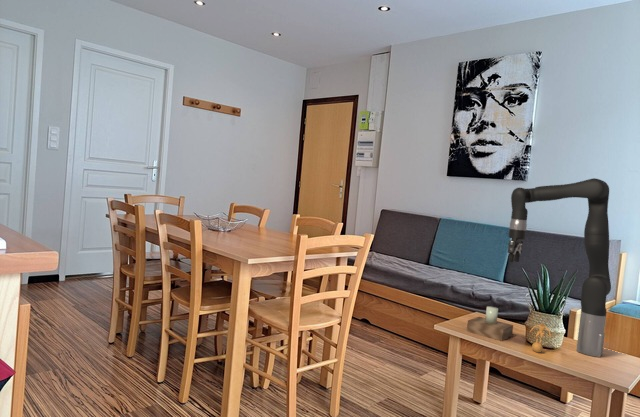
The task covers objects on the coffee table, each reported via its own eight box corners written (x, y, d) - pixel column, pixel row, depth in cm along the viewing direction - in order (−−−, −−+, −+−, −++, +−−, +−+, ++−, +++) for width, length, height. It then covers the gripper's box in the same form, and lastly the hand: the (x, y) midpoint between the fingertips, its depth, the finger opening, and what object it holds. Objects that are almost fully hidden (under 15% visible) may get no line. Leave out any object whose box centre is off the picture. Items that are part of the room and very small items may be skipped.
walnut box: (512, 335, 208) (513, 325, 208) (501, 340, 198) (503, 329, 197) (478, 326, 219) (479, 316, 218) (466, 331, 208) (467, 320, 208)
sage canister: (497, 323, 208) (499, 308, 208) (494, 324, 204) (496, 309, 204) (487, 320, 211) (489, 305, 211) (483, 322, 208) (485, 307, 208)
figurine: (524, 349, 188) (527, 321, 188) (530, 347, 192) (534, 319, 192) (545, 356, 182) (548, 326, 182) (551, 353, 186) (554, 325, 186)
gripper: (521, 229, 211) (517, 263, 211) (530, 230, 222) (526, 262, 222) (505, 227, 216) (501, 261, 216) (514, 228, 227) (510, 260, 227)
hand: (513, 261), depth 219 cm, fingers open, 8 cm apart
